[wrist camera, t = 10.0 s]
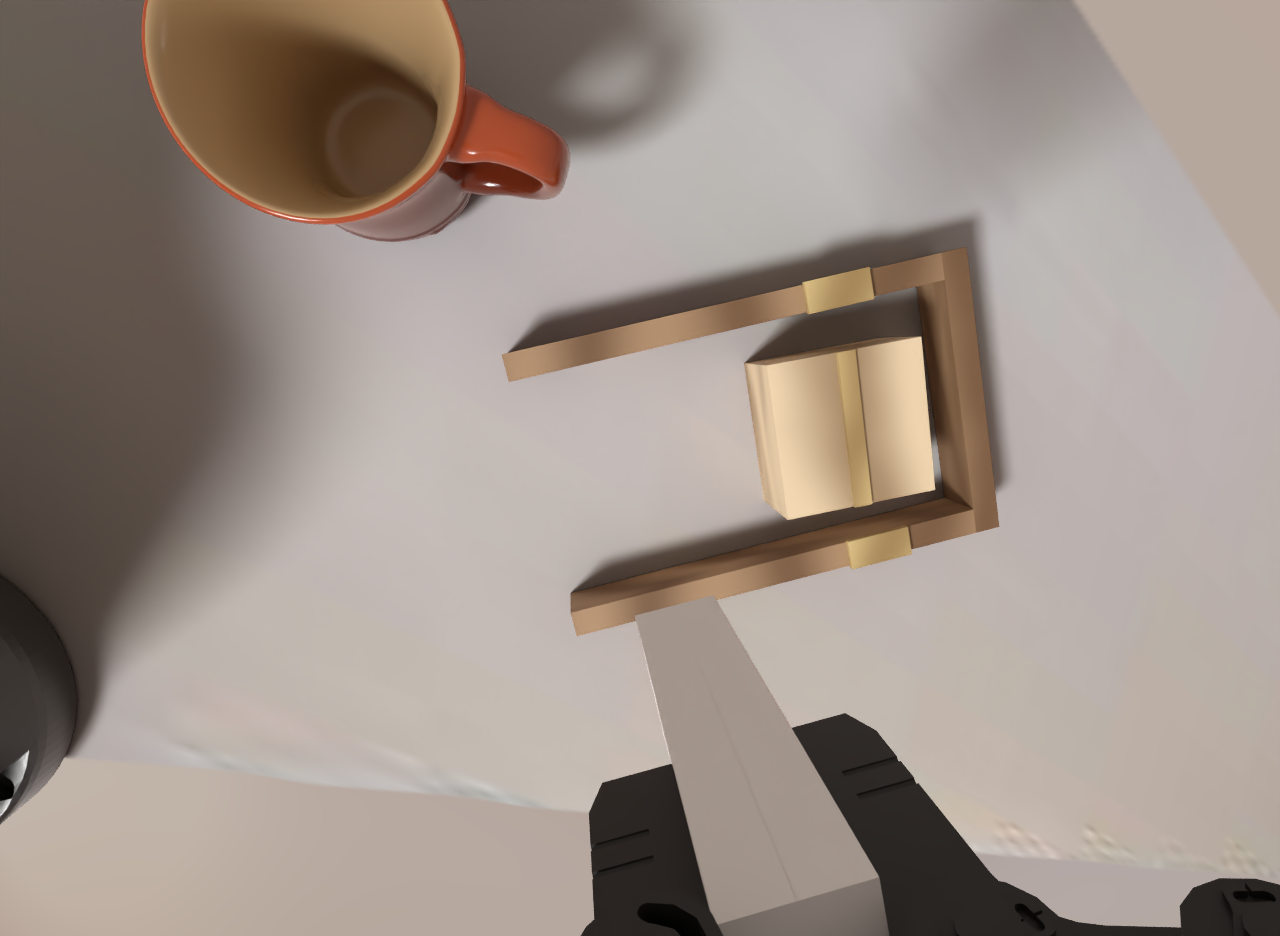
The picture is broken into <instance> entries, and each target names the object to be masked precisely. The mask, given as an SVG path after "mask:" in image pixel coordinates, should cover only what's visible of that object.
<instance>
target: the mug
mask: <svg viewBox="0 0 1280 936" xmlns="http://www.w3.org/2000/svg"><path fill="white" fill-rule="evenodd" d="M141 41H142V52H143V60H144V66H145V71H146V76H147V79H148V83H149V86H150V90H151V93H152V95H153V98H154V101H155V103H156V106H157V108H158V110H159V112H160V114H161V116H162V118H163V120H164V123H165V124H166V126H167V128H168V129H169V131H170V133H171V134H172V136H173V138H174V139H175V140H176V142H177V143H178V145H179V146H180V147H181V149H182V150H183V151H184V153H185V154H186V155H187V156H188V157H189V158H190V160H191V161H192V162H193V163H194V164H195V165H196V166H197V167H198V168H199V169H200V170H201V171H202V172H203V173H204V174H205V175H206V176H207V177H208V178H209V179H210V180H212V181H213V182H214V183H215V184H216V185H218V186H219V187H220V188H221V189H223V190H224V191H226V192H227V193H229V194H230V195H232V196H233V197H234V198H236V199H238V200H240V201H241V202H243V203H245V204H247V205H249V206H251V207H253V208H255V209H257V210H259V211H262V212H264V213H267V214H270V215H273V216H275V217H278V218H282V219H286V220H290V221H295V222H301V223H308V224H323V225H327V224H335V225H337V226H338V227H340V228H342V229H343V230H345V231H347V232H350V233H352V234H354V235H357V236H360V237H363V238H367V239H371V240H376V241H386V242H396V241H406V240H414V239H419V238H423V237H426V236H429V235H433V234H437V233H439V232H440V231H442V230H443V229H444V228H445V227H446V226H448V225H449V224H450V223H451V222H452V221H453V220H454V219H455V218H456V217H457V216H458V215H459V214H460V213H461V212H462V211H463V210H464V208H465V206H466V205H467V203H468V201H469V199H470V196H471V194H472V193H473V194H479V195H507V196H516V197H522V198H528V199H537V200H546V199H551V198H554V197H556V196H557V195H558V194H560V192H561V191H562V189H563V188H564V185H565V182H566V178H567V175H568V171H569V166H570V152H569V148H568V145H567V144H566V142H565V141H564V139H563V138H562V137H561V136H560V135H559V134H558V133H557V132H555V131H554V130H553V129H551V128H549V127H548V126H546V125H544V124H542V123H540V122H538V121H536V120H534V119H532V118H529V117H527V116H525V115H522V114H520V113H517V112H515V111H512V110H510V109H508V108H506V107H504V106H503V105H501V104H499V103H498V102H497V101H496V100H494V99H493V98H492V97H491V96H489V95H488V94H486V93H485V92H483V91H481V90H479V89H476V88H474V87H472V86H470V85H469V84H468V83H467V81H466V58H465V50H464V46H463V42H462V38H461V35H460V32H459V29H458V26H457V23H456V20H455V18H454V15H453V13H452V10H451V8H450V5H449V3H448V1H447V0H145V1H144V6H143V14H142V29H141Z"/></svg>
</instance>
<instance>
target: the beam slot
mask: <svg viewBox="0 0 1280 936" xmlns="http://www.w3.org/2000/svg"><path fill="white" fill-rule="evenodd" d="M912 287H916V288H917V295H918V303H919V310H920V318H921V325H922V332H923V340H924V347H925V355H926V362H927V370H928V377H929V385H930V392H931V400H932V407H933V415H934V422H935V430H936V437H937V445H938V452H939V460H940V467H941V474H942V482H943V489H944V497H945V498H941V499H937V500H933V501H930V502H926V503H922V504H918V505H914V506H910V507H906V508H902V509H898V510H894V511H890V512H886V513H882V514H879V515H875V516H871V517H867V518H863V519H859V520H855V521H851V522H847V523H843V524H839V525H835V526H832V527H828V528H824V529H820V530H816V531H812V532H808V533H804V534H800V535H796V536H792V537H788V538H784V539H781V540H777V541H773V542H769V543H765V544H761V545H757V546H753V547H749V548H745V549H741V550H737V551H733V552H730V553H726V554H722V555H718V556H714V557H710V558H706V559H702V560H698V561H694V562H690V563H686V564H682V565H679V566H675V567H671V568H667V569H663V570H659V571H655V572H651V573H647V574H643V575H639V576H635V577H632V578H628V579H624V580H620V581H616V582H612V583H608V584H604V585H600V586H596V587H592V588H588V589H584V590H581V591H577V592H573V593H571V616H572V619H573V623H574V627H575V631H576V634H577V636H579V635H583V634H587V633H591V632H595V631H598V630H602V629H606V628H610V627H614V626H618V625H622V624H625V623H629V622H633V621H636V619H635V616H636V615H639V614H643V613H647V612H651V611H655V610H659V609H662V608H666V607H670V606H674V605H678V604H682V603H686V602H689V601H693V600H697V599H701V598H705V597H709V596H713V595H714V597H715V599H716V600H718V599H722V598H726V597H730V596H733V595H737V594H741V593H745V592H749V591H753V590H757V589H761V588H764V587H768V586H772V585H776V584H780V583H784V582H788V581H791V580H795V579H799V578H803V577H807V576H811V575H815V574H818V573H822V572H826V571H830V570H834V569H838V568H842V567H845V566H849V565H850V568H852V569H856V568H860V567H864V566H868V565H871V564H875V563H879V562H883V561H887V560H891V559H895V558H898V557H902V556H906V555H910V554H912V551H911V549H915V548H919V547H923V546H926V545H930V544H934V543H938V542H942V541H946V540H950V539H953V538H957V537H961V536H965V535H969V534H973V533H977V532H980V531H984V530H988V529H992V528H996V527H999V520H998V512H997V503H996V495H995V486H994V477H993V469H992V460H991V452H990V443H989V435H988V426H987V418H986V409H985V401H984V392H983V383H982V375H981V366H980V358H979V349H978V341H977V332H976V324H975V315H974V306H973V298H972V289H971V281H970V272H969V264H968V255H967V247H964V248H959V249H955V250H951V251H946V252H942V253H938V254H933V255H929V256H925V257H920V258H916V259H912V260H908V261H903V262H899V263H895V264H890V265H886V266H882V267H877V268H873V269H870V267H867V268H862V269H858V270H854V271H849V272H845V273H841V274H836V275H832V276H828V277H823V278H819V279H815V280H811V281H806V282H802V285H800V286H795V287H791V288H787V289H782V290H778V291H774V292H769V293H765V294H761V295H756V296H752V297H748V298H743V299H739V300H735V301H730V302H726V303H722V304H717V305H713V306H709V307H704V308H700V309H696V310H692V311H687V312H683V313H679V314H674V315H670V316H666V317H661V318H657V319H653V320H648V321H644V322H640V323H635V324H631V325H627V326H622V327H618V328H614V329H609V330H605V331H601V332H596V333H592V334H588V335H584V336H579V337H575V338H571V339H566V340H562V341H558V342H553V343H549V344H545V345H540V346H536V347H532V348H527V349H523V350H519V351H514V352H510V353H506V354H502V357H503V361H504V365H505V368H506V372H507V376H508V380H509V382H511V381H515V380H519V379H523V378H528V377H532V376H536V375H541V374H545V373H549V372H553V371H558V370H562V369H566V368H570V367H575V366H579V365H583V364H587V363H592V362H596V361H600V360H605V359H609V358H613V357H617V356H622V355H626V354H630V353H634V352H639V351H643V350H647V349H652V348H656V347H660V346H664V345H669V344H673V343H677V342H681V341H686V340H690V339H694V338H699V337H703V336H707V335H711V334H716V333H720V332H724V331H728V330H733V329H737V328H741V327H745V326H750V325H754V324H758V323H763V322H767V321H771V320H775V319H780V318H784V317H788V316H792V315H797V314H801V313H805V312H807V314H812V313H816V312H821V311H825V310H829V309H834V308H838V307H842V306H846V305H851V304H855V303H859V302H863V301H868V300H872V299H874V296H878V295H882V294H886V293H891V292H895V291H899V290H904V289H908V288H912Z"/></svg>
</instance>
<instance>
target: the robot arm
mask: <svg viewBox="0 0 1280 936" xmlns="http://www.w3.org/2000/svg"><path fill="white" fill-rule="evenodd" d="M635 619H636V623H637V627H638V631H639V635H640V639H641V643H642V647H643V652H644V656H645V660H646V664H647V668H648V672H649V676H650V680H651V684H652V689H653V693H654V697H655V701H656V705H657V709H658V713H659V717H660V721H661V726H662V730H663V734H664V738H665V742H666V746H667V750H668V754H669V758H670V762H671V764H669V765H665V766H662V767H658V768H655V769H651V770H647V771H644V772H640V773H636V774H633V775H629V776H626V777H622V778H618V779H615V780H611V781H607V782H604V783H602V785H601V787H600V789H599V792H598V794H597V796H596V798H595V801H594V803H593V805H592V808H591V810H590V812H589V824H590V842H591V849H592V851H591V861H592V874H593V901H594V920H593V921H592V922H591V923H590V924H589V925H588V926H587V927H586V928H585V930H584V931H583V933H582V935H581V936H1280V885H1278V884H1274V883H1270V882H1266V881H1262V880H1258V879H1227V878H1222V879H1221V878H1219V879H1216V880H1214V881H1211V882H1208V883H1205V884H1202V885H1200V886H1197V887H1194V888H1193V889H1192V890H1191V891H1190V893H1189V894H1188V896H1187V897H1186V898H1185V900H1184V901H1183V902H1182V904H1181V905H1180V916H1181V928H1175V927H1173V928H1172V927H1137V926H1103V925H1096V924H1087V923H1078V922H1075V921H1072V920H1068V919H1065V918H1062V917H1059V916H1057V915H1056V914H1055V913H1054V912H1053V911H1052V910H1050V909H1049V908H1048V907H1047V906H1046V905H1045V904H1044V903H1042V902H1041V901H1040V900H1039V899H1038V898H1037V897H1035V896H1033V895H1031V894H1029V893H1026V892H1025V891H1023V890H1020V889H1018V888H1016V887H1014V886H1012V885H1010V884H1008V883H1006V882H1001V881H998V880H997V879H996V878H995V877H994V876H993V875H992V874H991V873H990V872H989V871H988V870H987V868H986V867H985V866H984V864H983V863H982V862H981V861H980V859H979V858H978V857H977V856H976V854H975V853H974V852H973V851H972V849H971V848H970V847H969V846H968V844H967V843H966V842H965V841H964V839H963V838H962V837H961V836H960V834H959V833H958V832H957V831H956V829H955V828H954V827H953V826H952V825H951V823H950V822H949V821H948V820H947V818H946V817H945V816H944V815H943V813H942V812H941V811H940V810H939V808H938V807H937V806H936V805H935V803H934V802H933V801H932V800H931V798H930V797H929V796H928V795H927V793H926V792H925V791H924V790H923V788H922V787H921V786H920V785H919V783H918V784H916V782H915V780H914V777H913V776H912V775H911V773H910V772H909V771H908V770H907V768H906V767H905V766H904V765H903V763H902V762H901V761H898V759H897V756H896V755H895V753H894V752H893V751H892V750H891V749H890V747H889V746H888V745H887V744H886V742H885V741H884V740H883V739H882V737H881V736H880V735H879V734H878V732H877V731H876V730H874V729H872V728H871V727H869V726H867V725H865V724H863V723H862V722H860V721H858V720H856V719H855V718H853V717H851V716H849V715H847V714H846V713H844V714H841V715H837V716H833V717H830V718H826V719H822V720H819V721H815V722H812V723H808V724H804V725H801V726H797V727H793V728H791V726H790V725H789V723H788V721H787V719H786V718H785V716H784V714H783V713H782V711H781V709H780V708H779V706H778V704H777V702H776V701H775V699H774V697H773V696H772V694H771V692H770V691H769V689H768V687H767V685H766V684H765V682H764V680H763V679H762V677H761V675H760V674H759V672H758V670H757V668H756V667H755V665H754V663H753V662H752V660H751V658H750V657H749V655H748V653H747V651H746V650H745V648H744V646H743V645H742V643H741V641H740V640H739V638H738V636H737V635H736V633H735V631H734V629H733V628H732V626H731V624H730V623H729V621H728V619H727V618H726V616H725V614H724V612H723V611H722V609H721V607H720V606H719V604H718V602H717V601H716V599H715V597H714V595H713V596H709V597H705V598H701V599H697V600H693V601H689V602H686V603H682V604H678V605H674V606H670V607H666V608H662V609H659V610H655V611H651V612H647V613H643V614H639V615H636V616H635ZM75 719H76V690H75V683H74V678H73V674H72V670H71V667H70V664H69V661H68V658H67V656H66V653H65V651H64V649H63V647H62V645H61V643H60V641H59V639H58V637H57V635H56V634H55V632H54V630H53V629H52V627H51V626H50V625H49V623H48V622H47V620H46V619H45V618H44V616H43V615H42V614H41V613H40V612H39V610H38V609H37V608H36V607H35V606H34V605H33V604H32V603H31V602H30V601H29V599H27V598H26V597H25V596H24V595H23V594H22V593H21V592H20V591H19V590H18V589H16V588H15V587H14V586H13V585H12V584H10V583H9V582H8V581H6V580H5V579H4V578H2V577H1V576H0V824H1V823H2V822H3V821H5V820H6V819H7V818H8V817H9V816H11V815H12V814H13V813H14V812H15V811H16V810H18V809H19V808H20V807H21V806H22V805H24V804H25V803H26V802H27V801H28V800H29V799H31V798H32V797H33V796H34V795H35V794H36V793H38V792H39V791H40V790H41V789H42V787H43V786H44V785H45V784H46V783H47V782H48V781H49V780H50V778H51V777H52V776H53V775H54V773H55V772H56V770H57V769H58V767H59V766H60V764H61V762H62V760H63V758H64V757H65V754H66V752H67V750H68V747H69V745H70V742H71V739H72V735H73V731H74V726H75Z"/></svg>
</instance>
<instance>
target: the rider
mask: <svg viewBox="0 0 1280 936" xmlns="http://www.w3.org/2000/svg"><path fill="white" fill-rule="evenodd" d="M744 365H745V372H746V379H747V386H748V393H749V400H750V407H751V414H752V421H753V427H754V434H755V441H756V448H757V455H758V462H759V469H760V476H761V483H762V490H763V497H764V501H765V502H766V503H768V504H769V505H770V506H771V507H773V508H774V509H775V510H776V511H777V512H779V513H780V514H781V515H782V516H784V517H785V518H786V519H787V520H790V519H795V518H800V517H805V516H810V515H815V514H820V513H824V512H829V511H834V510H839V509H844V508H849V507H855V508H856V507H861V506H866V505H871V504H872V503H873V502H878V501H883V500H888V499H893V498H898V497H903V496H908V495H912V494H917V493H922V492H927V491H932V490H935V482H934V471H933V460H932V449H931V438H930V427H929V416H928V405H927V394H926V382H925V371H924V360H923V349H922V338H921V337H881V338H876V339H870V340H865V341H860V342H854V343H849V344H844V345H838V346H833V347H828V348H822V349H817V350H812V351H806V352H801V353H796V354H791V355H785V356H780V357H775V358H769V359H764V360H759V361H753V362H748V363H744Z"/></svg>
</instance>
